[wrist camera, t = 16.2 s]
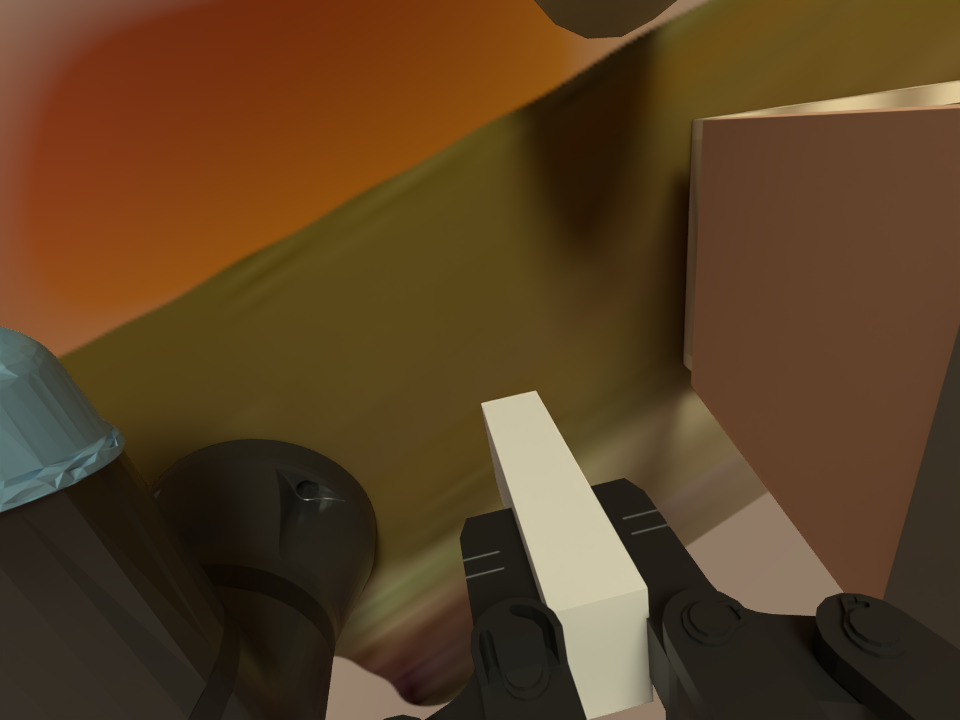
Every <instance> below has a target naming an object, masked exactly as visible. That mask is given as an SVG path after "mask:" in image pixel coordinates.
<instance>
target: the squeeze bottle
mask: <svg viewBox="0 0 960 720" xmlns="http://www.w3.org/2000/svg"><path fill="white" fill-rule="evenodd" d="M676 1H677V0H535V2H537V4H538V5H539V6H540V7H541V8H542V9H543V11H544V12H545V13H546V14H547V15H548V17H549V18H550V19H551V20H552V21H553V22H554V23H555V24H556V25H558V26H561V27H563V28H565V29H567V30H569V31H572V32H574V33H576V34H578V35H581V36H583V37H585V38H607V37H622V36H624V35H626V34H627V33H629V32H631V31H633V30H635V29H637V28H638V27H640V26H642V25H644V24H646V23H648V22H649V21H651V20H653V19H654V18H656V17H657V16H658V15H659V14H661V13H662V12H663V11H665V10H666V9H667V8H668V7H669V6H671V5H672V4H673V3H674V2H676Z"/></svg>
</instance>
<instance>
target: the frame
mask: <svg viewBox="0 0 960 720" xmlns="http://www.w3.org/2000/svg"><path fill="white" fill-rule="evenodd" d="M959 102H960V80H958V81H952V82H945V83H938V84H931V85H925V86H918V87H911V88H905V89H898V90H891V91H884V92H878V93H871V94H864V95H857V96H851V97H844V98H837V99H830V100H824V101H817V102H810V103H804V104H797V105H790V106H783V107H777V108H770V109H763V110H756V111H750V112H743V113H736V114H730V115H723V116H716V117H709V118H703V119H696V120H693V121H692V147H691V173H690V200H689V226H688V252H687V278H686V305H685V331H684V357H683V365H685V366H686V367H687V368H688V369H690V370H691V371H692V351H693V329H694V308H695V286H696V264H697V242H698V221H699V199H700V177H701V155H702V134H703V120H709V119H716V118H723V117H739V116H757V115H774V114H792V113H810V112H827V111H845V110H862V109H880V108H898V107H915V106H933V105H946V104H952V103H959Z"/></svg>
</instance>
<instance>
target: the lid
mask: <svg viewBox="0 0 960 720" xmlns="http://www.w3.org/2000/svg"><path fill="white" fill-rule="evenodd" d="M691 386H692V388H693V389H694V390H695V392H696V393H697V394H698V396H699V397H700V398H701V400H702V401H703V402H704V404H705V405H706V407H707V408H708V409H709V411H710V412H711V413H712V415H713V416H714V417H715V419H716V420H717V421H718V423H719V424H720V425H721V427H722V428H723V430H724V431H725V432H726V434H727V435H728V436H729V438H730V439H731V440H732V442H733V443H734V444H735V446H736V447H737V448H738V450H739V451H740V453H741V454H742V455H743V457H744V458H745V459H746V461H747V462H748V463H749V465H750V466H751V467H752V469H753V470H754V471H755V473H756V474H757V476H758V477H759V478H760V480H761V481H762V482H763V484H764V485H765V486H766V488H767V489H768V490H769V492H770V493H771V494H772V496H773V497H774V499H775V500H776V501H777V503H778V504H779V505H780V507H781V508H782V509H783V511H784V512H785V513H786V515H787V516H788V517H789V519H790V520H791V521H792V523H793V524H794V525H795V527H796V528H797V530H798V531H799V532H800V534H801V535H802V536H803V537H804V539H805V540H806V542H807V543H808V544H809V546H810V547H811V549H812V550H813V551H814V553H815V554H816V555H817V556H818V558H819V559H820V561H821V562H822V563H823V565H824V566H825V567H826V569H827V570H828V572H829V573H830V574H831V576H832V577H833V578H834V579H835V581H836V582H837V584H838V585H839V586H840V588H841V589H842V590H843V592H844V593H855V594H864V595H867V596H870V597H874V598H877V599H881V600H883V601H885V602H887V603H889V604H891V605H893V606H895V607H896V608H898V609H900V610H902V611H904V612H905V613H907V614H908V615H910V616H911V617H913V618H914V619H916V620H917V621H918V622H920V623H921V624H923V625H924V626H926V627H927V628H929V629H930V630H932V631H933V632H935V633H936V634H937V635H939V636H940V637H942V638H943V639H945V640H946V641H948V642H949V643H951V644H952V645H953V646H955V647H956V648H958V649H959V650H960V104H950V105H933V106H915V107H898V108H880V109H862V110H845V111H827V112H810V113H792V114H774V115H757V116H739V117H723V118H716V119H709V120H703V134H702V155H701V177H700V199H699V221H698V242H697V264H696V286H695V308H694V329H693V351H692V373H691Z"/></svg>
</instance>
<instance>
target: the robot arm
mask: <svg viewBox="0 0 960 720" xmlns="http://www.w3.org/2000/svg"><path fill="white" fill-rule="evenodd" d="M481 405H482V410H483V415H484V420H485V425H486V430H487V435H488V440H489V445H490V450H491V455H492V460H493V465H494V470H495V475H496V480H497V485H498V488H499V492H500V495H501V499H502V502H503V505H504V509H503V510H499V511H495V512H491V513H487V514H483V515H479V516H475V517H471V518H467V519H466V521H465V524H464V527H463V530H462V533H461V536H460V543H461V550H462V556H463V561H464V568H465V575H466V581H467V587H468V593H469V600H470V606H471V612H472V618H473V625H474V629H473V631H472V633H471V649H470V650H471V654H472V657H473V661H474V665H475V670H474V672H473V674H472V676H471V679H470V681H469V683H468V684H467V685H466V687H465V688H464V689H463V691H462V692H461V693H460V694H459V695H458V696H457V697H456V698H455V699H454V700H452V701H451V702H450V703H449V704H448V705H446V706H445V707H443V708H442V709H440V710H439V711H437V712H436V713H434V714H433V715H431V716H430V717H428V718H427V719H425V720H589V719H592V718H596V717H599V716H603V715H607V714H610V713H614V712H617V711H621V710H625V709H628V708H632V707H635V706H639V705H643V704H646V703H650V702H653V688H652V683H653V685H654V687H655V689H656V691H657V694H658V696H659V698H660V700H661V702H662V704H663V706H664V708H665V710H666V720H960V650H959V649H958V648H956V647H955V646H953V645H952V644H951V643H949V642H948V641H946V640H945V639H943V638H942V637H940V636H939V635H937V634H936V633H935V632H933V631H932V630H930V629H929V628H927V627H926V626H924V625H923V624H921V623H920V622H918V621H917V620H916V619H914V618H913V617H911V616H910V615H908V614H907V613H905V612H904V611H902V610H900V609H898V608H896V607H895V606H893V605H891V604H889V603H887V602H885V601H883V600H881V599H877V598H874V597H870V596H867V595H864V594H855V593H839V594H836V595H833V596H830V597H827V598H825V599H824V601H823V602H822V603H821V604H820V605H819V606H818V607H817V612H816V616H801V615H779V614H768V613H760V612H756V611H753V610H749V609H747V608H744V607H743V606H742V605H741V604H740V603H739V602H738V601H737V600H735V599H733V598H731V597H729V596H727V595H726V594H724V593H722V592H719V591H717V590H716V589H715V588H714V587H713V586H712V584H711V583H710V582H709V581H708V579H707V578H706V577H705V575H704V574H703V572H702V571H701V570H700V568H699V567H698V565H697V564H696V563H695V561H694V560H693V558H692V557H691V556H690V554H689V553H688V551H687V550H686V549H685V547H684V546H683V544H682V543H681V542H680V540H679V539H678V538H677V536H676V535H675V533H674V532H673V531H672V529H671V528H670V527H668V525H667V522H666V521H665V519H664V518H663V517H662V515H661V514H660V512H658V511H657V508H656V507H655V505H654V504H653V503H652V501H651V500H650V498H649V497H648V496H647V494H646V493H645V492H644V490H642V489H640V488H639V487H637V486H636V485H634V484H633V483H631V482H629V481H628V480H626V479H625V478H623V479H619V480H615V481H610V482H606V483H602V484H598V485H594V486H590V485H589V484H588V482H587V480H586V478H585V477H584V475H583V473H582V471H581V470H580V468H579V466H578V464H577V463H576V461H575V459H574V457H573V456H572V454H571V452H570V450H569V448H568V447H567V445H566V443H565V441H564V440H563V438H562V436H561V434H560V433H559V431H558V429H557V427H556V426H555V424H554V422H553V420H552V419H551V417H550V415H549V413H548V411H547V410H546V408H545V406H544V404H543V403H542V401H541V399H540V397H539V396H538V394H537V392H536V391H532V392H528V393H524V394H519V395H515V396H511V397H506V398H502V399H498V400H493V401H489V402H485V403H481ZM124 445H125V438H124V436H123V435H122V433H121V432H120V430H119V429H118V428H117V427H114V426H113V425H112V424H110V423H109V422H107V421H105V420H103V419H102V417H101V416H100V415H99V413H98V412H97V411H96V409H95V408H94V407H93V405H92V404H91V403H90V401H89V400H88V399H87V397H86V396H85V395H84V393H83V392H82V391H81V390H80V388H79V387H78V386H77V384H76V383H75V382H74V380H73V379H72V378H71V376H70V375H69V374H68V372H67V371H66V370H65V368H64V367H63V366H62V364H61V363H60V362H59V360H58V359H57V358H56V356H55V355H54V354H53V353H52V352H50V351H49V350H48V349H47V348H46V347H45V346H43V345H42V344H41V343H40V342H38V341H36V340H35V339H33V338H31V337H29V336H27V335H25V334H23V333H21V332H17V331H14V330H11V329H8V328H5V327H0V720H325V717H326V710H327V701H328V694H329V688H330V680H331V672H332V664H333V657H334V651H335V645H336V641H337V639H338V637H339V635H340V633H341V631H342V629H343V627H344V625H345V624H346V622H347V620H348V618H349V616H350V614H351V612H352V610H353V608H354V606H355V604H356V602H357V600H358V598H359V596H360V594H361V592H362V590H363V589H364V587H365V585H366V583H367V581H368V579H369V576H370V573H371V570H372V566H373V562H374V556H375V544H376V520H375V515H374V511H373V508H372V505H371V503H370V501H369V499H368V497H367V495H366V493H365V492H364V490H363V489H362V487H361V486H360V485H359V483H358V482H357V481H356V480H355V479H354V478H353V477H352V476H351V475H350V474H349V473H348V472H347V471H346V470H345V469H343V468H342V467H341V466H339V465H338V464H337V463H335V462H334V461H332V460H330V459H329V458H327V457H325V456H323V455H321V454H319V453H317V452H315V451H312V450H310V449H307V448H304V447H301V446H298V445H294V444H290V443H286V442H281V441H274V440H262V439H246V440H235V441H228V442H223V443H219V444H215V445H212V446H208V447H206V448H203V449H200V450H198V451H196V452H193V453H191V454H190V455H188V456H186V457H184V458H183V459H181V460H179V461H178V462H177V463H175V464H174V465H173V466H171V467H170V468H169V469H168V470H167V471H166V472H165V473H164V474H163V475H162V476H161V477H160V478H159V480H158V481H157V482H156V484H155V485H154V486H153V488H152V489H151V490H150V489H149V488H148V486H147V485H146V483H145V482H144V480H143V479H142V477H141V476H140V474H139V473H138V471H137V470H136V468H135V467H134V465H133V464H132V462H131V461H130V459H129V458H128V456H127V455H126V453H125V452H124V450H123V447H124ZM384 720H421V719H420V718H416V717H411V716H407V715H399V716H394V717H390V718H386V719H384Z"/></svg>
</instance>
